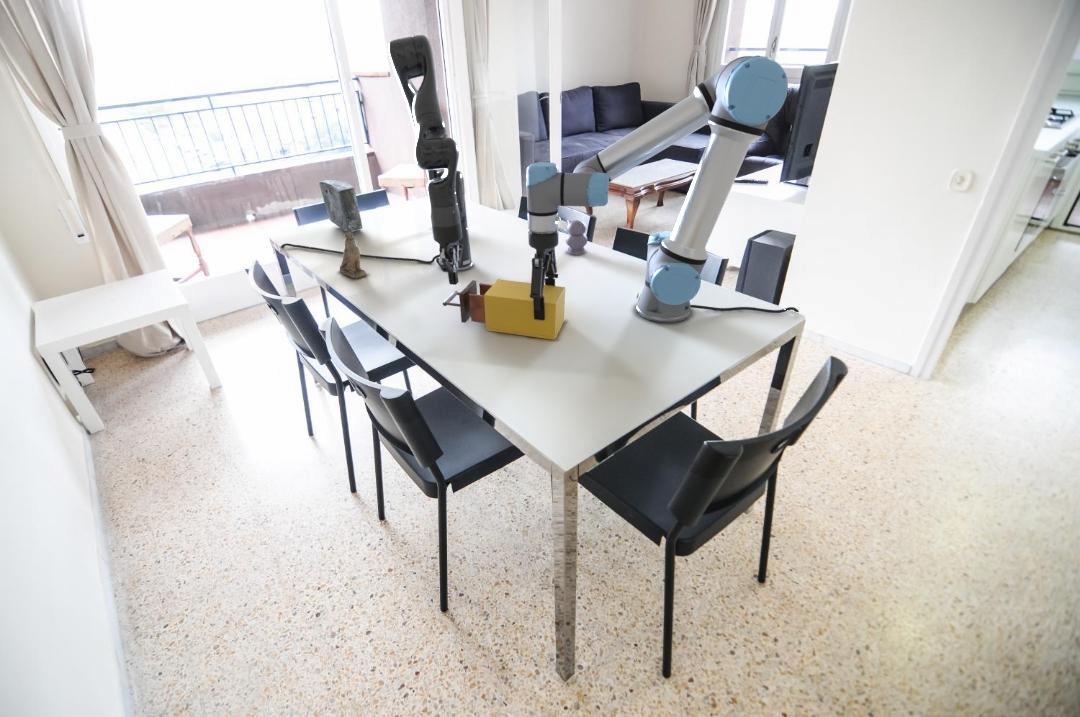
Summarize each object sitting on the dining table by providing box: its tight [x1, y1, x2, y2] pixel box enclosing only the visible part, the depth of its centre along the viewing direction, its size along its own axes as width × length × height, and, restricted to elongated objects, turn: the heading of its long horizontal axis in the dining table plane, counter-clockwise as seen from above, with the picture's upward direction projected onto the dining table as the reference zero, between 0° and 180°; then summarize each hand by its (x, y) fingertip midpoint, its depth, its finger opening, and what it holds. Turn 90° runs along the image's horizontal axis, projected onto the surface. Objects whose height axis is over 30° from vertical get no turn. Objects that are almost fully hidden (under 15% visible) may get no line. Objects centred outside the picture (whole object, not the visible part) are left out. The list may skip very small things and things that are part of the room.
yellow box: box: [484, 278, 566, 341], centre depth 136 cm, size 20×11×11 cm, turn 75°
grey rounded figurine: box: [565, 219, 588, 256], centre depth 186 cm, size 8×8×12 cm
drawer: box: [442, 279, 493, 324], centre depth 138 cm, size 24×10×9 cm, turn 75°
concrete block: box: [318, 178, 363, 233], centre depth 220 cm, size 27×9×20 cm, turn 36°
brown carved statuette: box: [339, 230, 367, 280], centre depth 174 cm, size 12×6×18 cm, turn 43°
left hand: (454, 283), depth 138 cm, fingers closed
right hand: (545, 309), depth 135 cm, fingers closed on yellow box, 11 cm apart
